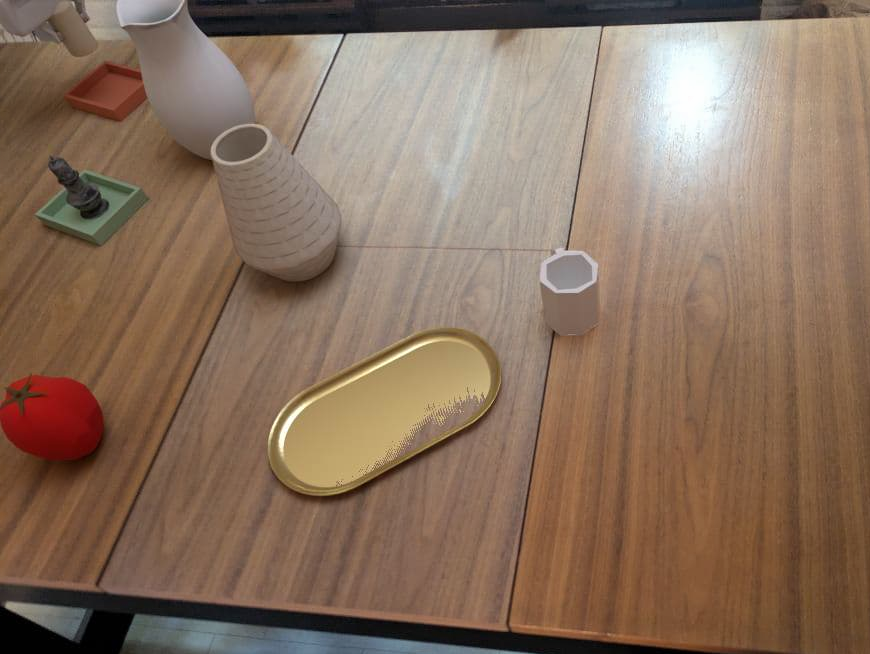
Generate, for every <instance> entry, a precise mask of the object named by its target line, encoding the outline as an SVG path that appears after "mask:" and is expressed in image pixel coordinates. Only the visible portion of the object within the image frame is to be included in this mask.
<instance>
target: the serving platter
mask: <svg viewBox="0 0 870 654" xmlns="http://www.w3.org/2000/svg"><path fill="white" fill-rule="evenodd" d="M502 373H503V372H502V365H501V361H500V358H499V357H498V354H497V351H496V350H495V349H494V348H493V346H492V345H491V344H490V343H489V342H488V341H487V340H486V339H485V338H483V337H482V336H480V335H478V334H477V333H475V332H472V331H471V330H469V329H465V328H460V327H456V326H455V327H454V326H436V327H431V328H426V329H423V330H420V331H417V332H414V333H412V334H410V335H408V336H407V337H404V338H402V339H400V340H398V341H397V342H394V343H392V344H391V345H389V346H387V347H385V348H383V349H381V350H379V351H377V352H375V353H372V354H371V355H369V356H367V357H365V358H363V359H361V360H360V361H357V362H355V363H353V364H351V365H349V366H348V367H345V368H344V369H341V370H339V371H338V372H336V373H334V374H332V375H330V376H328V377H326V378H324V379H322V380H320V381H318V382H316V383H315V384H313V385H310V386H308V387H307V388H305V389H304V390H302V391H301V392H299V393H298V394H296V395H295V396H294V397H292V398H291V399H290V400H289V401H288V402H287V403H286V405H284V407H282V409H281V410H280V412H279V413H278V415H276V418H275V420H274V422H273V424H272V426H271V428H270V430H269V431H270V432H269V435H268V440H267V457H268V462H269V464H270V467H271V469H272V471H273V473H274V475H275V476H276V477H277V478H278V480H279V481H280V482H281V483H283V485H285V486H286V487H287V488H289V489H291V490H292V491H295V492H296V493H299V494H302V495H305V496H312V497H331V496H337V495H341V494H344V493H348V492H350V491H353V490H355V489H357V488H359V487H361V486H362V485H365V484H366V483H368V482H370V481H372V480H373V479H375V478H377V477H379V476H381V475H382V474H384V473H387V472H388V471H390V470H392V469H394V468H395V467H398V466H399V465H401V464H403V463H404V462H406V461H408V460H410V459H412V458H414V457H415V456H417V455H419V454H421V453H423V452H424V451H426V450H428V449H430V448H432V447H433V446H435V445H438V444H439V443H441V442H443V441H445V440H446V439H448V438H450V437H452V436H453V435H455V434H458V433H459V432H461V431H463V430H465V429H467V428H469V427H470V426H471V425H473V424H475V422H477V421H479V420H480V419H481V418H482V417H483V416H484V415H485V414H486V413H487V412H488V411H489V410H490V408H491V407H492V405H493V404H494V402H495V400H496V398H497V397H498V394H499V391H500V389H501V384H502V375H503V374H502ZM467 387H468V391H469V394H468V392H467ZM474 389H475V392H474ZM482 392H483V395H484V398H485V402H484V405H482V407H480V409H478V411H477V413H475V415H474V416H472V417H470V419H468V420H467V421H465V422H463V423H461V424H460V425H459V426H457V427H455V428H453V429H452V428H451V430H450V429H449V431H448V430H447V431H446V432H444V434H443V433H442V435H441V434H440V436H439V435H438V437H437V436H436V438H434V439H433V440H431V441H429V442H428V443H425V444H423V445H421V447H420V446H419V448H417V447H416V449H414V450H412V451H409V452H408V454H407V453H406V454H405V455H403V456H400V457H398V458H395V460H394V457H395V455H396V453H397V450H398V448H399V446H400V448H401V445H402V443H403V444H404V442H405V439H406V436H407V438H408V436H409V438H410V435H411V437H412V434H413V431H414V428H415V430H416V427H417V429H418V425H419V422H420V424H421V421H422V423H423V419H424V422H425V418H426V420H427V416H428V419H429V415H430V417H431V413H432V415H433V418H434V420H435V417H434V414H435V416H436V412H437V414H438V410H439V412H440V415H441V411H440V408H441V410H442V413H443V408H444V411H445V413H446V408H447V411H448V413H449V410H448V406H449V409H450V411H451V406H452V409H453V404H454V406H455V403H454V397H455V401H456V403H457V402H459V403H460V406H461V402H460V399H459V397H461V400H462V403H463V401H464V400H465V402H466V396H467V399H468V395H470V398H471V399H473V396H474V395H476V396H477V398H478V401H479V403H480V398H481V399H482V397H481V394H482ZM459 395H460V396H459ZM449 400H450V403H451V404H449ZM475 400H476V399H475ZM468 401H469V400H468ZM482 401H483V399H482ZM433 403H434V406H435V408H434V407H433ZM444 403H445V405H444ZM428 404H429V407H430V410H431V411H430V410H429V408H428ZM439 405H440V406H439ZM445 406H446V408H445ZM477 406H478V405H477ZM431 407H432V408H433V410H432V408H431ZM424 408H425V409H424ZM426 408H427V409H428V411H427V409H426ZM461 408H462V407H461ZM435 409H436V411H435ZM455 409H456V408H455ZM425 411H426V412H425ZM433 411H434V414H433ZM453 411H454V409H453ZM456 411H457V410H456ZM459 411H460V413H461V410H460V409H459ZM463 412H464V411H463ZM451 413H452V411H451ZM454 413H455V412H454ZM457 413H458V412H457ZM424 415H425V416H424ZM443 415H444V413H443ZM446 415H447V414H446ZM449 415H450V414H449ZM438 417H439V419H440V421H441V423H442V419H443V421H444V417H445V415H444V417H443V416H442V415H441V417H442V418H441V417H440V416H439V414H438ZM438 417H437V416H436V418H437V421H438V423H439V420H438ZM447 417H448V416H447ZM431 419H432V417H431ZM445 419H446V417H445ZM429 421H430V419H429ZM427 422H428V420H427ZM432 422H433V421H432ZM435 422H436V421H435ZM417 423H418V425H417ZM444 423H445V422H444ZM415 424H416V426H415ZM425 424H426V422H425ZM433 424H434V423H433ZM436 424H437V423H436ZM413 425H414V426H413ZM423 425H424V423H423ZM439 425H440V423H439ZM442 425H443V423H442ZM421 426H422V424H421ZM440 426H441V425H440ZM419 428H420V425H419ZM412 429H413V431H412ZM410 430H411V431H410ZM420 430H421V429H420ZM418 431H419V430H418ZM411 432H412V434H411ZM416 432H417V431H416ZM414 433H415V431H414ZM405 434H406V435H405ZM407 434H408V435H407ZM413 436H414V434H413ZM404 437H405V439H404ZM409 438H408V440H409ZM410 439H411V438H410ZM412 439H413V438H412ZM403 440H404V442H403ZM392 441H393V442H392ZM399 441H400V442H399ZM401 441H402V442H401ZM406 441H407V439H406ZM409 442H410V441H409ZM400 443H401V445H400ZM407 443H408V442H407ZM405 444H406V442H405ZM410 444H411V443H410ZM394 445H395V446H394ZM408 445H409V443H408ZM390 446H391V447H390ZM397 446H398V447H397ZM404 446H405V445H404ZM402 447H403V445H402ZM391 448H392V449H391ZM400 448H399V450H400ZM389 449H390V450H391V451H390V450H389ZM394 449H395V450H394ZM396 449H397V450H396ZM401 449H402V448H401ZM403 449H404V448H403ZM392 450H393V451H392ZM399 450H398V452H399ZM386 451H387V452H386ZM388 451H389V453H390V454H391V452H392V454H393V455H394V453H395V455H394V457H393V455H392V454H391V456H392V458H393V459H392V458H391V456H390V454H389V453H388ZM395 451H396V452H395ZM400 452H401V451H400ZM387 453H388V455H389V456H390V458H391V459H390V458H389V457H388V455H387ZM397 454H398V453H397ZM399 454H400V453H399ZM386 455H387V457H388V459H389V460H390V462H389V460H388V459H387V457H386ZM385 457H386V459H387V461H388V464H387V462H386V464H385V465H384V463H385V462H384V463H383V461H384V459H385ZM396 457H397V455H396ZM383 458H384V459H383ZM386 459H385V461H386ZM380 460H381V461H380ZM382 460H383V461H382ZM391 460H392V461H391ZM376 461H377V462H376ZM378 461H379V462H380V464H381V465H382V463H383V465H382V466H380V465H379V466H380V468H379V466H378V465H377V466H378V468H377V466H376V464H377V463H378V464H379V462H378ZM381 462H382V463H381ZM375 463H376V464H375ZM368 465H369V466H368ZM374 465H375V466H376V468H377V469H375V471H374V468H375V466H374ZM367 467H368V468H367ZM373 467H374V468H373ZM372 468H373V469H372ZM360 469H361V470H360ZM362 469H363V470H362ZM366 469H367V470H366ZM371 470H372V471H371ZM359 471H360V472H359ZM365 471H366V472H367V473H366V472H365ZM363 474H364V475H363ZM365 474H366V475H365ZM352 476H353V477H352ZM342 479H343V480H342ZM337 481H338V482H339V484H340V485H339V484H338V482H337ZM341 481H342V482H341ZM351 481H352V482H351ZM336 482H337V483H336ZM337 484H338V485H337ZM341 484H342V486H341ZM336 485H337V487H336Z"/></svg>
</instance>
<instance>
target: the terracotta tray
mask: <svg viewBox="0 0 870 654" xmlns="http://www.w3.org/2000/svg"><path fill="white" fill-rule="evenodd" d="M62 97H63V98H64V100H65V101H66V103H67V104H68V105H69V107H71V108H74V109H78V110H79V111H84V112H87V113H91V114H94V115H98V116H100V117H104V118H107V119H111V120H113V121H118V122H122V121H123V120H125V119H126V117H128V116H129V115H130V114H131V113H132V112H134V110H136V108H138V107H139V106H140V105H141V104H143V102H144V101H146V100H147V99H148V98H147V95H146V91H145V88H144V84H143V79H142V74H141V69H140V68H136V67H132V66H128V65H125V64H124V65H123V64H120V63H116V62H112V61H109V60H103V61H102V62H101V63H100V64H99V65H98V66H96V67H95V68H94V69H92V71H90V72H89V73H88V74H87V75H86V76H84V77H83V78H82V79H80V81H79V82H77V83H76V84H75V85H74V86H72V87H71V88H70V89H69V90H68V91H66V92H65V93H64V94H62Z"/></svg>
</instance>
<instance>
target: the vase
mask: <svg viewBox="0 0 870 654" xmlns="http://www.w3.org/2000/svg"><path fill="white" fill-rule="evenodd" d="M211 157H212V160H211V161H212V165H213V168H214V173H215V176H216V181H217V184H218V188H219V192H220V198H221V201H222V205H223V208H224V212H225V217H226V221H227V225H228V228H229V232H230V236H231V240H232V245H233V248H234V250H235V252H236V254H237V257H239V259H240V260H242V261H243V262H244V263H245V264H246V265H248V266H249V267H251V268H253V269H256V270H258V271H261V272H263V273H265V274H268V275H270V276H272V277H275V278H278V279H280V280H283V281H285V282H292V283H297V282H298V283H299V282H305V281H309V280H311V279H313V278H316V277H318V276H320V275H321V274H322V273H324V272H325V271H326V270H327V269H328V268H329V267H330V266H331V264H332V262H333V260H334V259H335V256H336V251H337V248H338V247H337V246H338V242H339V238H340V233H341V229H342V214H341V211H340V207H339V206H338V204H337V202H336V201H335V199H333V197H332V196H330V195H329V193H327V191H326V190H325V189H324V188H323V187H322V186H321V185H320V183H318V181H316V179H315V178H314V177H313V176H312V175H311V174H310V173H309V171H307V170H306V168H305V167H304V166H303V165H302V164H301V163H300V162H299V161H298V160H297V159H296V158H295V156H294V155H293V154H292V153H291V152H290V151H289V150H288V149H287V148H286V146H285V145H284V144H283V143H282V142H281V141H280V140H279V139H278V138H277V137H276V136H275V135H274V133H273V132H272V131H271V130H270V129H269V128H268V127H266V126H265V125H262V124H258V123H255V124H243V125H238V126H235V127H233V128H230V129H228V130H226V131H225V132H223V133H222V134H221V135H219V136H218V137H217V138H216V140H215V141H214V142H213V144H212V146H211Z"/></svg>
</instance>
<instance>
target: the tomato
mask: <svg viewBox="0 0 870 654" xmlns="http://www.w3.org/2000/svg"><path fill="white" fill-rule="evenodd" d="M4 389H5V390H6V392H5V399H4V400H2V401H1V403H0V427H1V429H2V432H4V435H5V437H6V438H7V439H8V441H10V442H11V444H12V445H14V447H16V448H17V449H18V450H20V451H21V452H23V453H25V454H28V455H31V456H35V457H38V458H41V459H45V460H51V461H68V460H69V461H70V460H78V459H81V458H82V457H84V456H87V455H89V454H91V453H92V452H93V451H94V450H95V449H96V448H97V447H98V446H99V443H100V440H101V438H102V435H103V432H104V429H105V422H104V413H103V410H102V408H101V405H100V404H99V401H98V400H97V398H96V397H95V395H94V394H93V392H92V391H91V390H90V389H89V388H88V386H87V384H84V383H82V382H80V381H78V380H76V379H75V378H70V377H64V376H63V377H59V376H58V377H50V376H47V375H41V374H33V372H31V373H30V374H29V375H28V376H25V377H23V378H21V379H17V380H15V381H12V382H11V383H10V384H9V385H8V387H4Z"/></svg>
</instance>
